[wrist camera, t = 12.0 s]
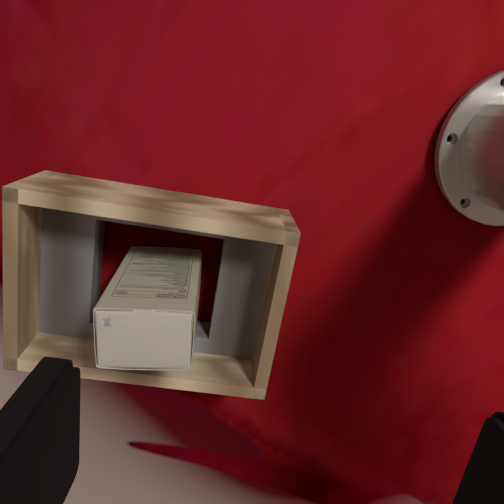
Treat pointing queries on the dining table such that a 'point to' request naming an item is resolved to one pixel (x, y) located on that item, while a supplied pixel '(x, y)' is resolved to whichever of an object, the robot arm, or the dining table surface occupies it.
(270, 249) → the insert box
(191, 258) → the skincare box
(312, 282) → the dining table surface
